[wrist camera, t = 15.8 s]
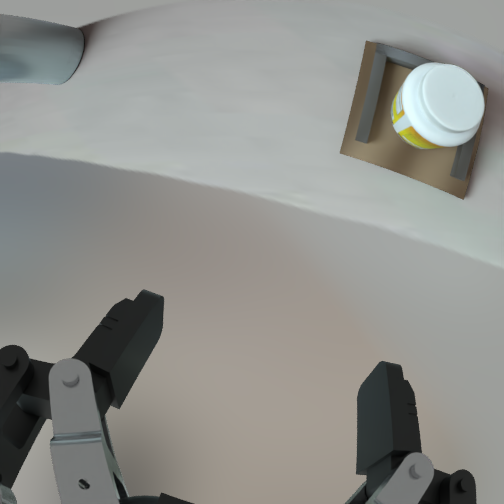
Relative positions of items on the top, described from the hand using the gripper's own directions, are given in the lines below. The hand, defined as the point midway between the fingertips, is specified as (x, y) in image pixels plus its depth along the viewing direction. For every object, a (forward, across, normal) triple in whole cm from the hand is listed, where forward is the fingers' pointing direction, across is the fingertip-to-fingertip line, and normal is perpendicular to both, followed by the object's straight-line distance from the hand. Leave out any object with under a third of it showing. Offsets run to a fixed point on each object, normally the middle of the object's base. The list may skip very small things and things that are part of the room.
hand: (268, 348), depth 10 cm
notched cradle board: (+20, -8, -9) cm, 24 cm away
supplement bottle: (+19, -8, -9) cm, 23 cm away
